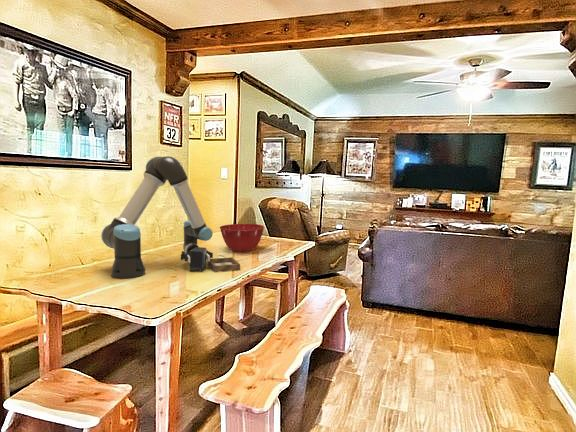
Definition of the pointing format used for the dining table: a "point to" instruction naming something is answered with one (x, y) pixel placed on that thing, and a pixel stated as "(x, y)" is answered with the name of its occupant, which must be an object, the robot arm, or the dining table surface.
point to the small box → (197, 259)
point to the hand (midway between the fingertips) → (199, 259)
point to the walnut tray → (223, 264)
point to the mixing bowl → (242, 236)
